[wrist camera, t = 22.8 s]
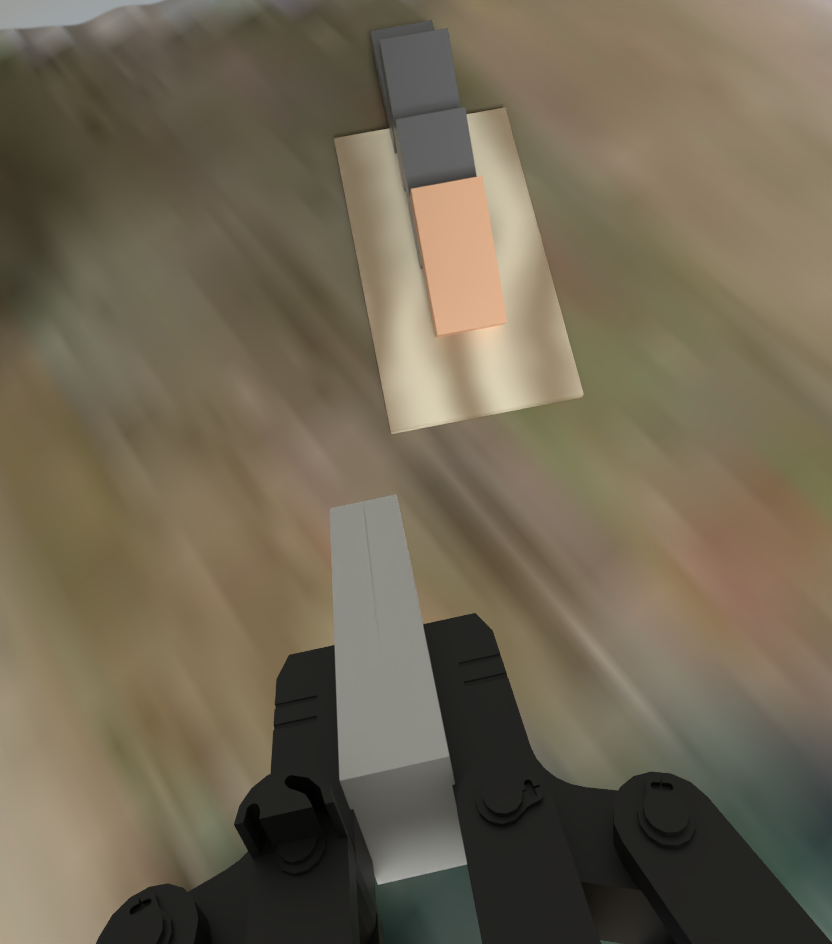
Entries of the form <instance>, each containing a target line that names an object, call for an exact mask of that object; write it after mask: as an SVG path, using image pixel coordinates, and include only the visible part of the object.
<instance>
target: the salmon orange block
mask: <svg viewBox="0 0 832 944" xmlns="http://www.w3.org/2000/svg"><path fill="white" fill-rule="evenodd" d="M410 201H411V207H412V212H413V218H414V223H415V229H416V234H417V240H418V245H419V251H420V256H421V262H422V267H423V273H424V278H425V284H426V289H427V295H428V300H429V305H430V311H431V316H432V322H433V327H434V333H435V338H437V337H442V336H447V335H452V334H458V333H463V332H468V331H474V330H479V329H484V328H489V327H495V326H500V325H503V324H505V323H507V318H506V312H505V306H504V300H503V294H502V288H501V282H500V276H499V270H498V265H497V259H496V253H495V247H494V241H493V235H492V229H491V223H490V217H489V211H488V205H487V199H486V193H485V187H484V181H483V176H478V177H473V178H468V179H462V180H457V181H451V182H446V183H440V184H435V185H429V186H424V187H418V188H413V189H411V192H410Z"/></svg>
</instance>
